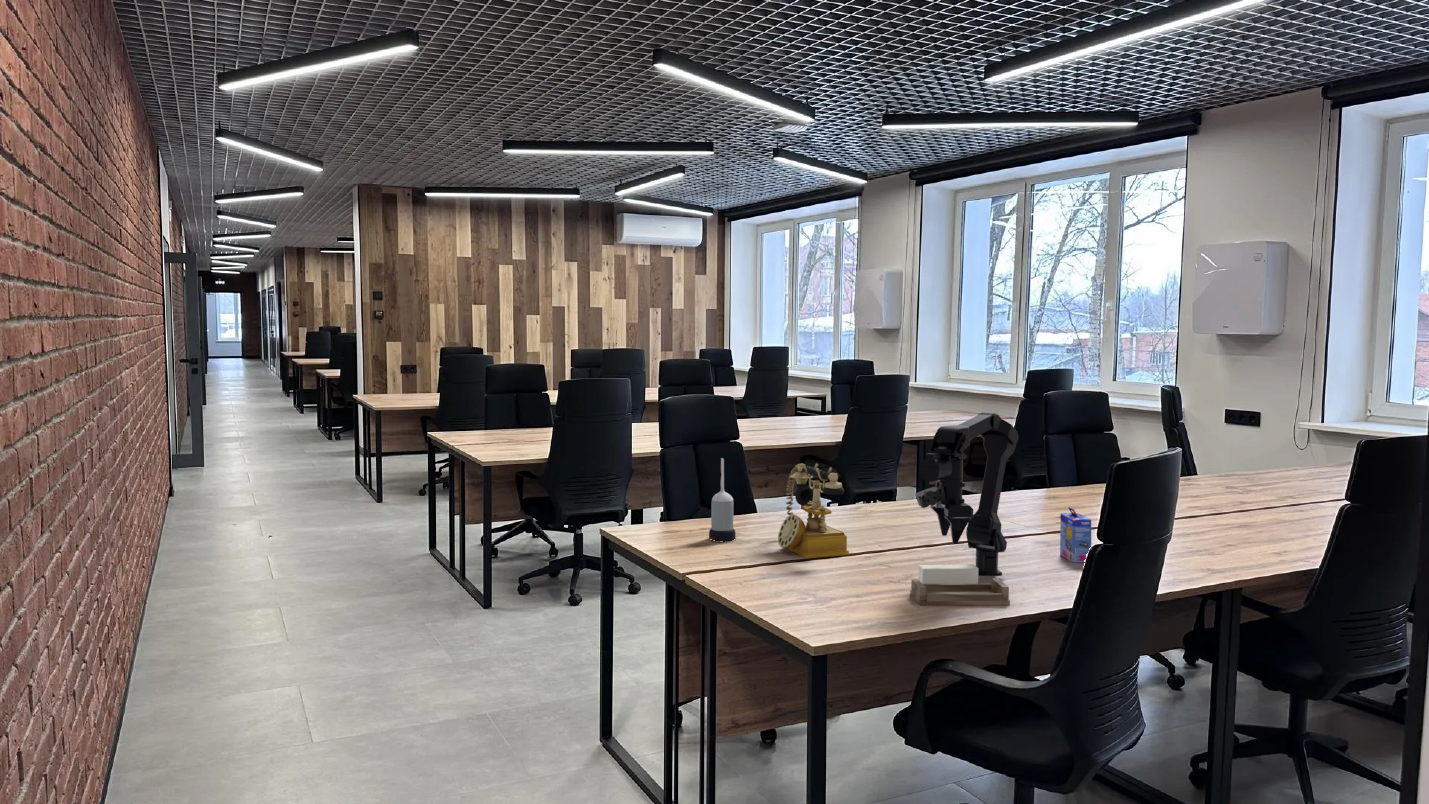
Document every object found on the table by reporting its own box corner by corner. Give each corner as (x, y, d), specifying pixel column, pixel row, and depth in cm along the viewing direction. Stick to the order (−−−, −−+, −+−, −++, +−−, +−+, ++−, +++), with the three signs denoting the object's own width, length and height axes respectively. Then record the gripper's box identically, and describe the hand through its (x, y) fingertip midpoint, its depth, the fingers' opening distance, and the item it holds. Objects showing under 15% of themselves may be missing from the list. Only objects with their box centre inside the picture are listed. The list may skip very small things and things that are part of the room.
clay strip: (918, 584, 244) (918, 565, 244) (972, 584, 245) (973, 564, 245) (922, 588, 240) (922, 568, 240) (978, 588, 241) (978, 568, 241)
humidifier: (706, 541, 294) (706, 459, 292) (712, 536, 302) (712, 456, 300) (732, 542, 292) (732, 460, 290) (738, 537, 300) (738, 457, 298)
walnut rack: (910, 594, 234) (910, 577, 234) (995, 593, 235) (996, 577, 235) (920, 605, 224) (920, 588, 224) (1010, 604, 225) (1010, 588, 225)
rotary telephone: (751, 538, 298) (752, 458, 296) (803, 534, 304) (804, 455, 303) (801, 564, 265) (802, 473, 263) (858, 559, 271) (860, 470, 269)
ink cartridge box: (1058, 554, 277) (1059, 504, 276) (1077, 554, 278) (1078, 504, 277) (1072, 563, 268) (1073, 511, 267) (1091, 562, 268) (1093, 511, 267)
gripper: (909, 472, 250) (908, 532, 251) (928, 483, 231) (927, 548, 232) (952, 472, 250) (950, 531, 251) (974, 483, 232) (973, 547, 233)
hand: (949, 539), depth 242 cm, fingers open, 9 cm apart
